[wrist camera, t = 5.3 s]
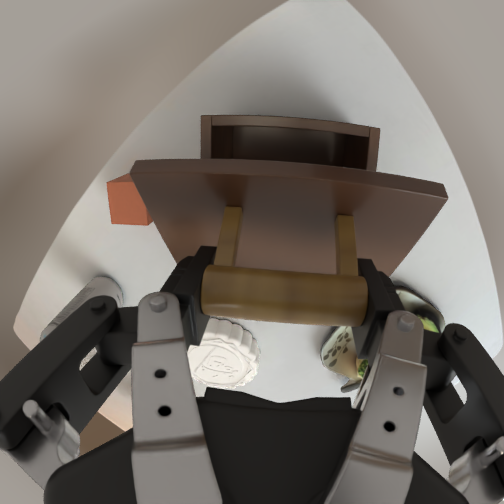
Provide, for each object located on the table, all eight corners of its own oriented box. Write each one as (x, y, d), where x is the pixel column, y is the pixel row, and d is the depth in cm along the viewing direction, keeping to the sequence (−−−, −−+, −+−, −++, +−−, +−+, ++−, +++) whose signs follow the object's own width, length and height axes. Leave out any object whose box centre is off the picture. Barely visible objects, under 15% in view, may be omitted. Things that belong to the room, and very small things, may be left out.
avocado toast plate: (373, 396, 42) (377, 416, 38) (292, 363, 40) (291, 387, 36) (457, 322, 34) (469, 341, 30) (383, 266, 32) (394, 287, 27)
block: (127, 173, 30) (106, 182, 26) (162, 172, 30) (143, 181, 26) (131, 210, 32) (111, 224, 28) (165, 211, 32) (147, 225, 28)
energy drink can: (110, 312, 40) (60, 380, 27) (86, 282, 38) (27, 344, 25) (133, 300, 38) (80, 374, 25) (107, 267, 36) (42, 333, 23)
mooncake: (235, 384, 43) (231, 401, 40) (169, 350, 42) (161, 366, 39) (277, 343, 38) (275, 362, 35) (200, 302, 37) (192, 319, 33)
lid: (135, 159, 11) (85, 275, 8) (443, 183, 9) (476, 305, 7) (205, 301, 25) (195, 359, 22) (349, 313, 24) (348, 371, 21)
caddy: (227, 117, 27) (200, 115, 18) (352, 126, 25) (380, 128, 17) (226, 256, 33) (206, 302, 25) (334, 264, 32) (348, 314, 24)
